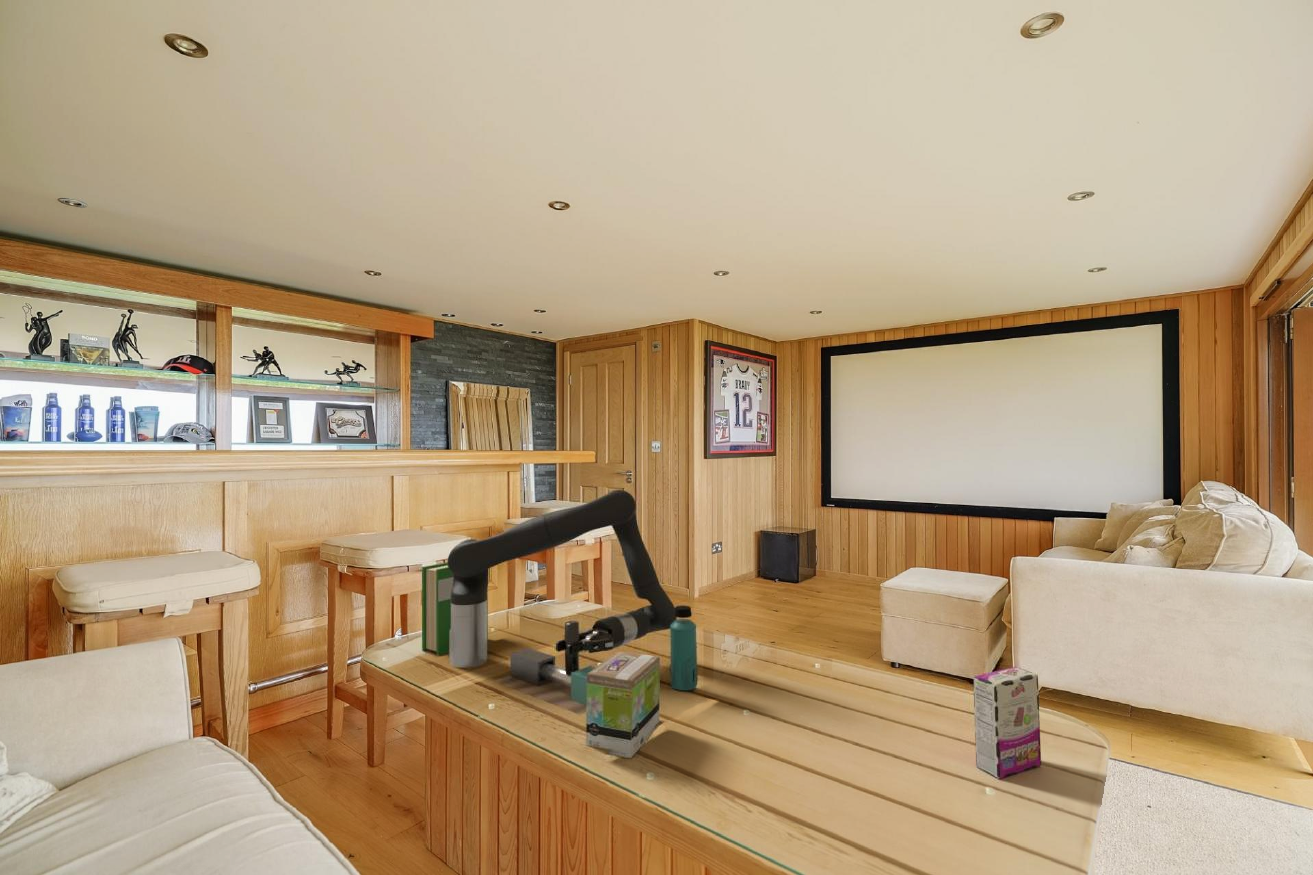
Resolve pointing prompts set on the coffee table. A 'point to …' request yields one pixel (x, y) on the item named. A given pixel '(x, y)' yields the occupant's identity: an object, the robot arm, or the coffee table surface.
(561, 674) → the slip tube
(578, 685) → the socket
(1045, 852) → the coffee table surface
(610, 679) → the tea box
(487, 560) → the robot arm
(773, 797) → the coffee table surface
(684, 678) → the beverage bottle
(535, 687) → the base board
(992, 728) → the candy bar box
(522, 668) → the grey block
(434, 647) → the hardback book
